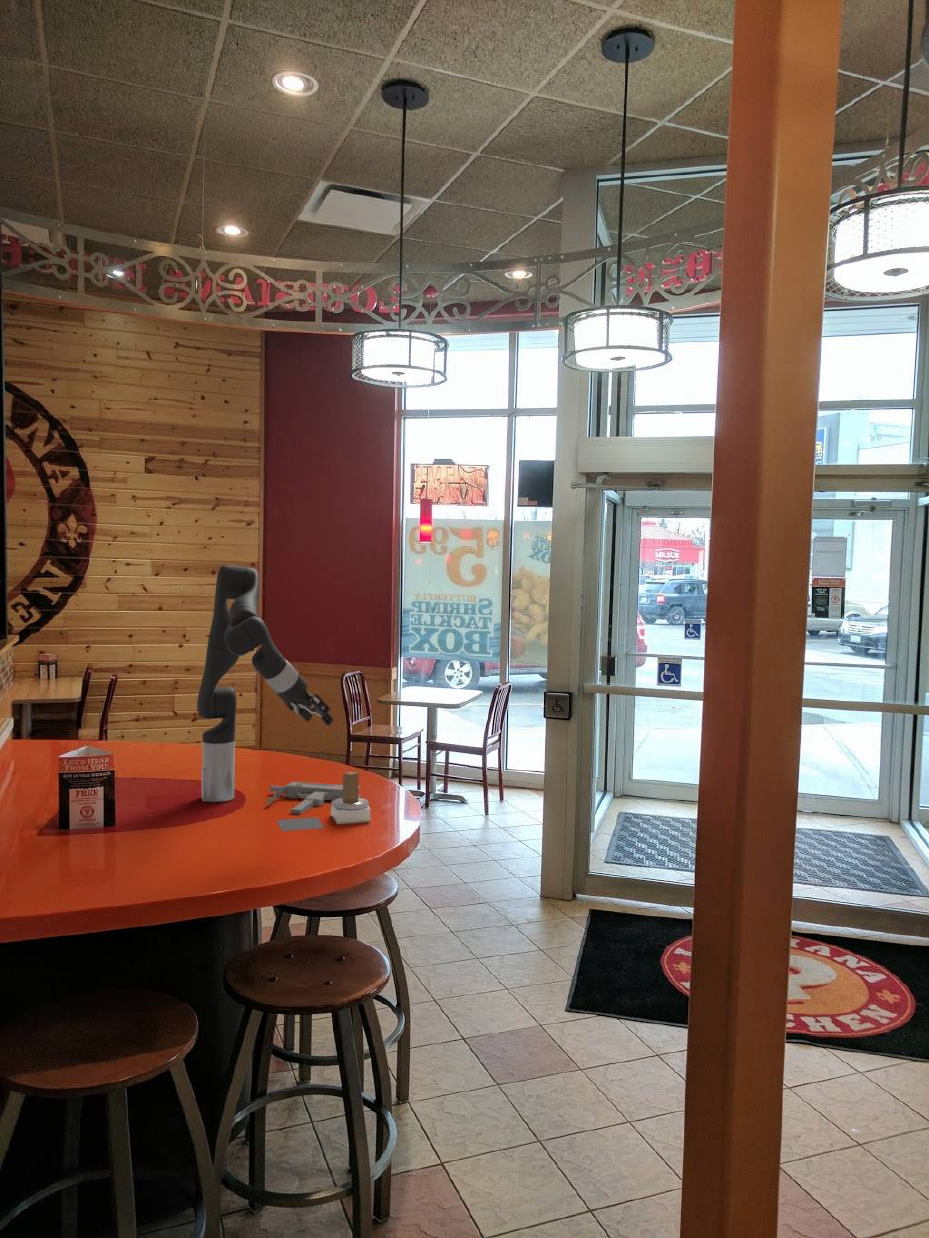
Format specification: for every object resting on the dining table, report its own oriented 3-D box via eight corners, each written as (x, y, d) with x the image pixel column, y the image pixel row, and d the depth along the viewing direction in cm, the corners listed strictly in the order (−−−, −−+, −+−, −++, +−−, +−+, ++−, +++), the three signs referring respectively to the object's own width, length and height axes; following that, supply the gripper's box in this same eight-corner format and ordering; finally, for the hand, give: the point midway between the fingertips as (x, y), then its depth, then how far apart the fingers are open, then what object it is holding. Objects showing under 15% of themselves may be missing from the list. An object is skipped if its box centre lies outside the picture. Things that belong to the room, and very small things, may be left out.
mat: (282, 832, 233) (282, 831, 233) (276, 821, 243) (276, 819, 243) (324, 829, 236) (324, 828, 236) (317, 818, 247) (317, 817, 247)
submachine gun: (332, 807, 247) (362, 783, 271) (239, 800, 253) (276, 776, 278) (332, 823, 248) (363, 797, 272) (239, 816, 254) (277, 791, 278)
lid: (348, 812, 239) (348, 778, 238) (324, 805, 245) (324, 772, 245) (376, 805, 246) (376, 773, 246) (352, 799, 253) (352, 767, 253)
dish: (337, 825, 240) (337, 810, 240) (331, 816, 249) (331, 802, 249) (370, 823, 243) (370, 808, 243) (362, 814, 252) (363, 800, 252)
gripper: (311, 671, 224) (345, 712, 233) (276, 667, 233) (310, 706, 242) (294, 694, 220) (329, 735, 229) (259, 689, 229) (294, 728, 239)
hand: (319, 720), depth 236 cm, fingers open, 8 cm apart
